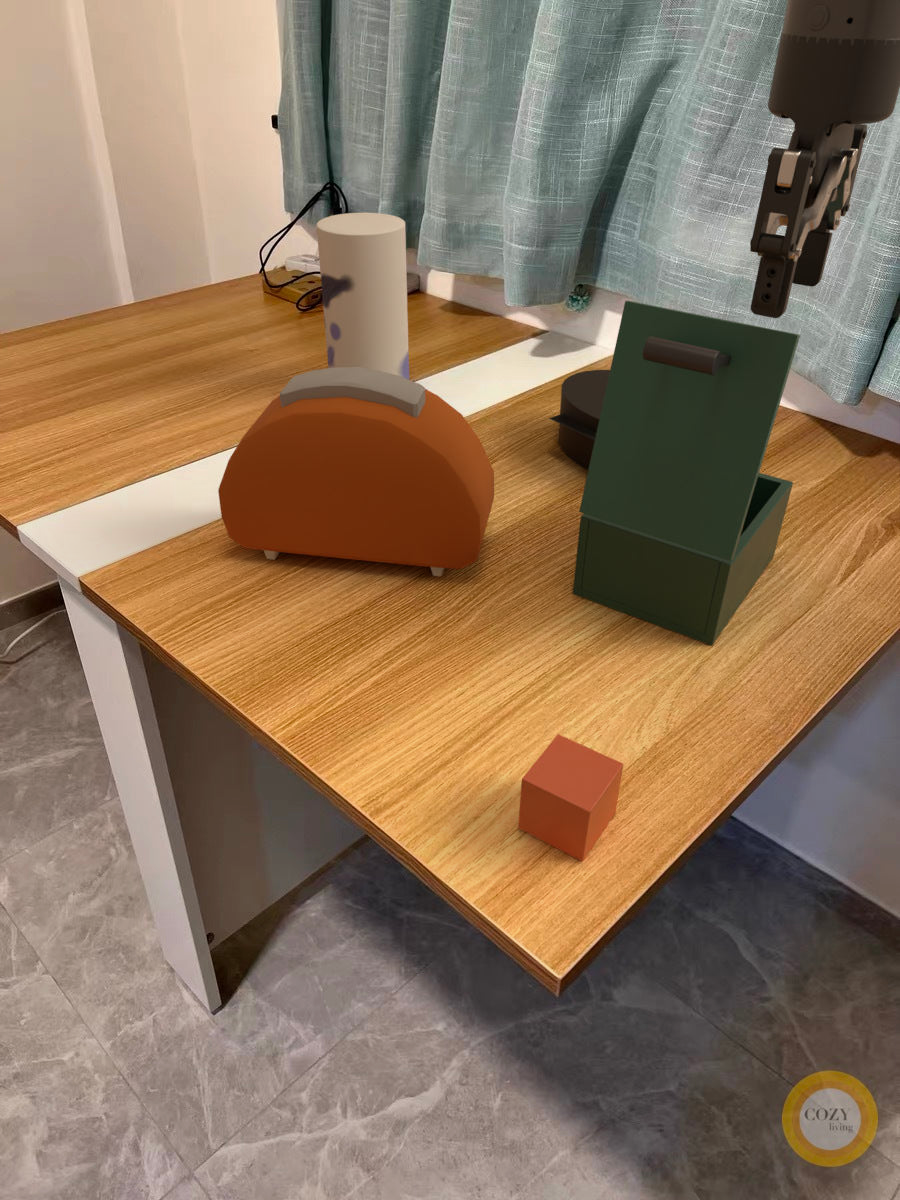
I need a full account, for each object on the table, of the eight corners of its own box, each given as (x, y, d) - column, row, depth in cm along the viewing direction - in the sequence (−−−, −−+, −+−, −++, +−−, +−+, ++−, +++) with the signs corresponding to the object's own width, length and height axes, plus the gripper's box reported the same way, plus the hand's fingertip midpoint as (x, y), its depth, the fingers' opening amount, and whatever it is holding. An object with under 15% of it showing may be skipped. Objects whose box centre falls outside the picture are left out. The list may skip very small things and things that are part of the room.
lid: (629, 300, 65) (600, 300, 61) (800, 334, 60) (782, 336, 56) (582, 510, 72) (554, 522, 68) (733, 559, 66) (712, 575, 62)
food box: (646, 516, 87) (657, 444, 82) (773, 556, 81) (793, 481, 77) (572, 593, 77) (580, 516, 72) (712, 645, 71) (730, 565, 66)
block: (615, 813, 57) (624, 763, 54) (582, 862, 54) (590, 812, 51) (552, 782, 59) (558, 733, 56) (517, 828, 56) (521, 778, 53)
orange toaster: (493, 532, 85) (500, 363, 75) (480, 585, 77) (485, 407, 68) (259, 510, 88) (235, 345, 78) (225, 559, 81) (194, 385, 71)
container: (314, 388, 112) (298, 220, 100) (375, 367, 118) (367, 206, 106) (363, 412, 106) (353, 237, 94) (425, 390, 112) (423, 222, 100)
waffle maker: (619, 417, 108) (622, 357, 104) (734, 467, 95) (742, 401, 91) (523, 450, 102) (523, 388, 97) (632, 508, 89) (636, 439, 85)
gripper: (885, 38, 47) (810, 338, 57) (937, 24, 56) (865, 282, 66) (746, 32, 50) (698, 316, 60) (817, 19, 60) (766, 266, 69)
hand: (786, 298), depth 63 cm, fingers open, 8 cm apart
